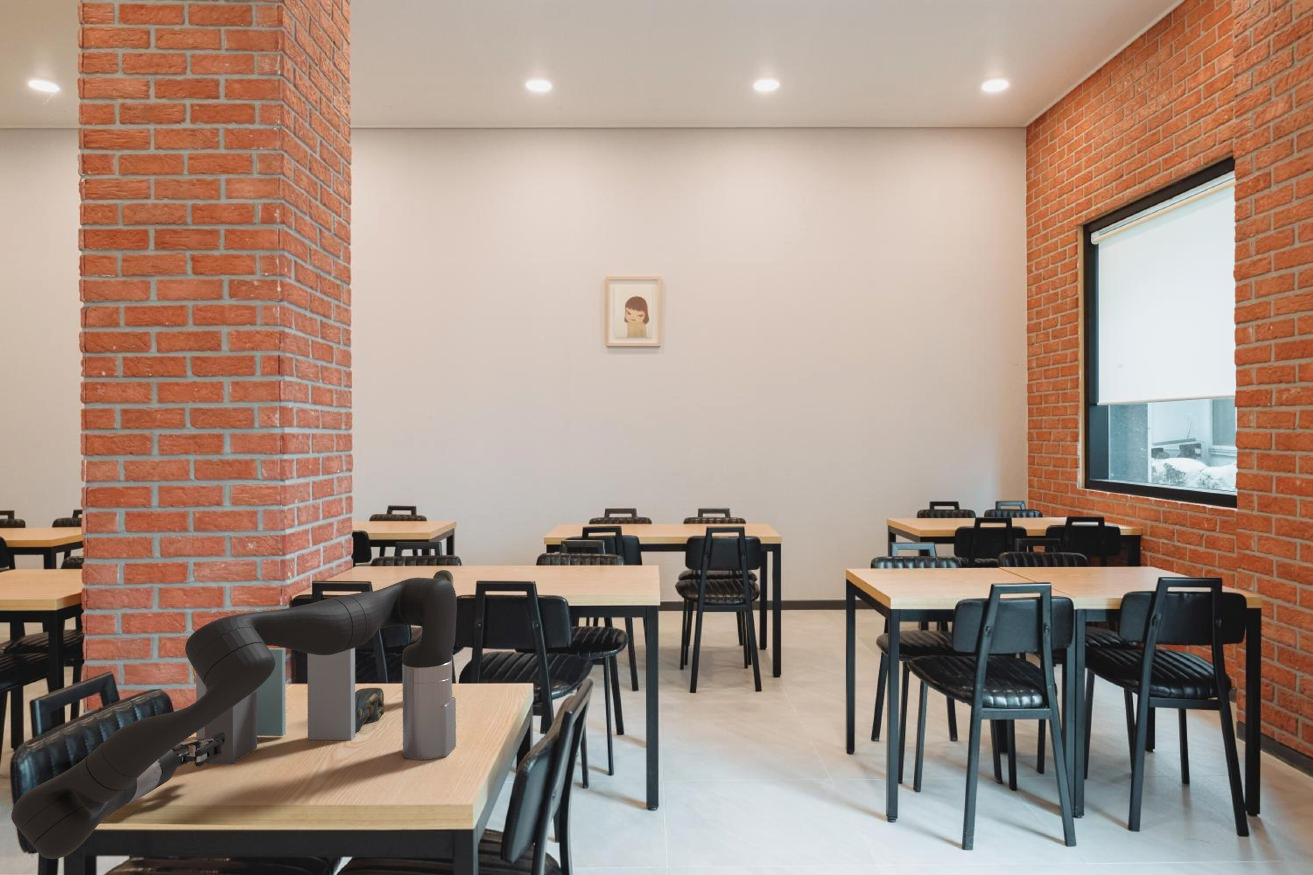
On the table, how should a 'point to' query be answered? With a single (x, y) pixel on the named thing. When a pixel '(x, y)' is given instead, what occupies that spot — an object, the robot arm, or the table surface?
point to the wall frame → (323, 696)
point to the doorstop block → (236, 730)
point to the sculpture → (368, 706)
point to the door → (272, 699)
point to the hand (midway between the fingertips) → (200, 737)
